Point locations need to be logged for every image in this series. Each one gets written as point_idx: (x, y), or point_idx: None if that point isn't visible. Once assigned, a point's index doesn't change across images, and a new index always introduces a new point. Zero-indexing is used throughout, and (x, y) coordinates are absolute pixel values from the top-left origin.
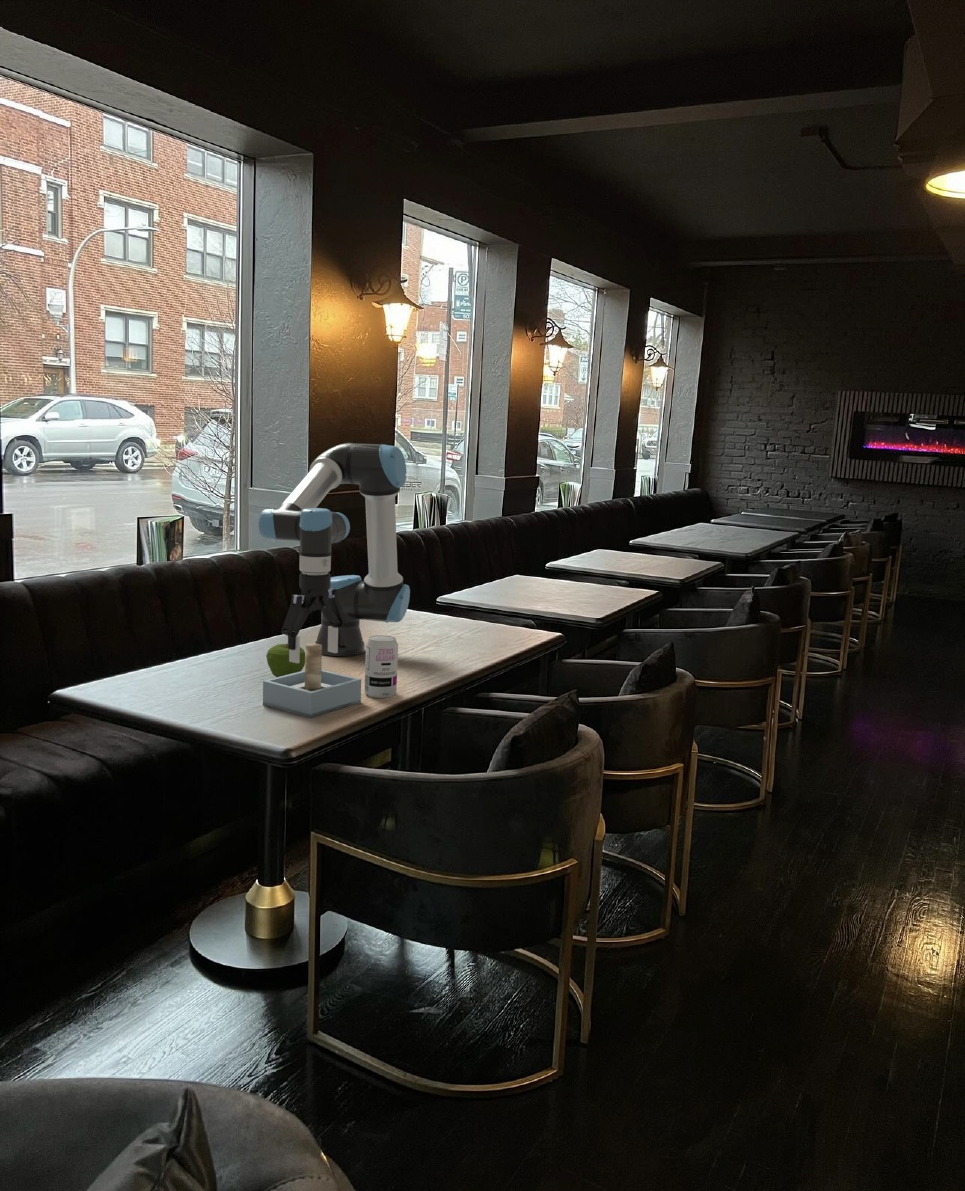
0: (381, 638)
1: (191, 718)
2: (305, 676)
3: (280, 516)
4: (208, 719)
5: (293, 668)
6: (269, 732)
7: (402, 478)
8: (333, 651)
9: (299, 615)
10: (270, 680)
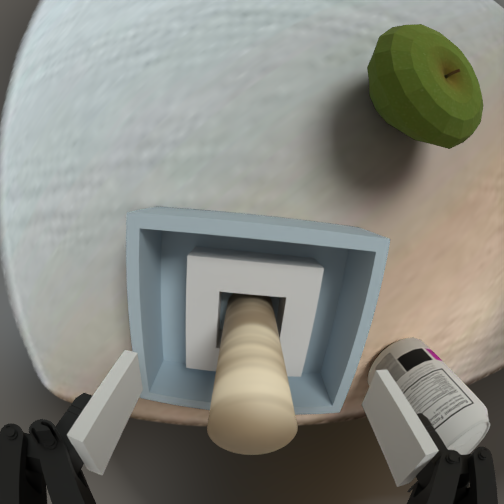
0: (462, 446)
1: (18, 170)
2: (224, 332)
3: None
4: (27, 199)
5: (401, 130)
6: (56, 341)
7: None
8: (366, 399)
9: None
10: (146, 228)
